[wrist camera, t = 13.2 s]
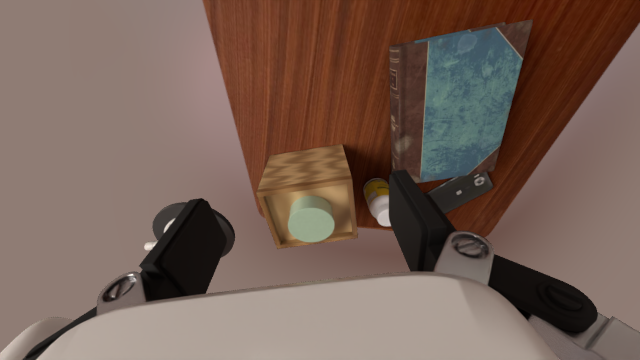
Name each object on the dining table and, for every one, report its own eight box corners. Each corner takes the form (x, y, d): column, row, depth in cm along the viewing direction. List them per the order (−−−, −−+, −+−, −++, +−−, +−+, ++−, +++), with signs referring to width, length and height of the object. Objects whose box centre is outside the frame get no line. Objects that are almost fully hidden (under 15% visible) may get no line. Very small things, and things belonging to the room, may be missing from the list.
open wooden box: (284, 204, 50) (277, 249, 39) (269, 155, 43) (256, 193, 33) (347, 195, 49) (357, 238, 38) (342, 144, 43) (352, 178, 32)
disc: (294, 231, 38) (293, 245, 36) (284, 198, 35) (282, 211, 32) (335, 226, 38) (337, 239, 35) (329, 192, 34) (331, 204, 32)
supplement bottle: (393, 184, 48) (410, 214, 39) (377, 201, 50) (390, 233, 42) (373, 172, 46) (387, 201, 38) (357, 191, 48) (367, 222, 40)
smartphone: (491, 185, 49) (494, 188, 48) (427, 220, 53) (428, 222, 53) (480, 161, 45) (483, 163, 45) (412, 200, 50) (414, 202, 49)
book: (387, 46, 34) (397, 47, 30) (507, 21, 33) (535, 18, 29) (389, 173, 46) (397, 186, 42) (478, 158, 45) (495, 170, 41)
